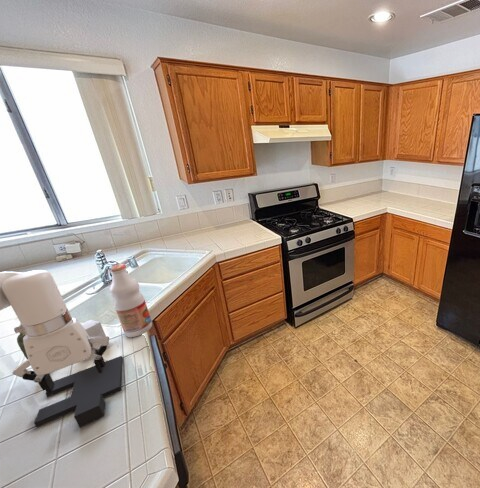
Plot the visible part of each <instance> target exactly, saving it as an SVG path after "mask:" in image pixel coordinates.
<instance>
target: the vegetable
mask: <svg viewBox="0 0 480 488" xmlns="http://www.w3.org/2000/svg"><path fill="white" fill-rule="evenodd" d="M20 325H21V323H20V322H19V325H18V327H19V326H20ZM24 336H25V333H24V332H19V333H18V335H17V337H16V342H17V345H18V347H19V349H20V352H22V354H23V355H24V357H25V359H26V360H27V359H28V357H27V354H26V351H25V347H24V343H23V337H24Z"/></svg>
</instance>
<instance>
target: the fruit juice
mask: <svg viewBox="0 0 480 488" xmlns="http://www.w3.org/2000/svg"><path fill="white" fill-rule="evenodd" d="M108 270H109V273H111V277H112V278H111V280H112V281H111V283H110V285H109V288H108V292H109V294H110V296H111V297H112V298H113V306H114V309H115V313H116V315H117V317H118V321H119V323H120V326H121V328H122V331H123V333H124V335H125V336H126V337H129V338H133V337H138V336H141V335H143V334H145V333H147V332H149V331H150V330H151V329H152V327H153V320H152V318H151V315H150V312H149V308H148V306H147V301H146V299H145V297H144V294H143V293H142V291H140V283H139V281H138V279H136V278H134V277H132V276H130V274H129V273H128V271H127V265H126V264H125V263H118V264H113V265H112V266H110V267H109V268H108Z"/></svg>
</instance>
